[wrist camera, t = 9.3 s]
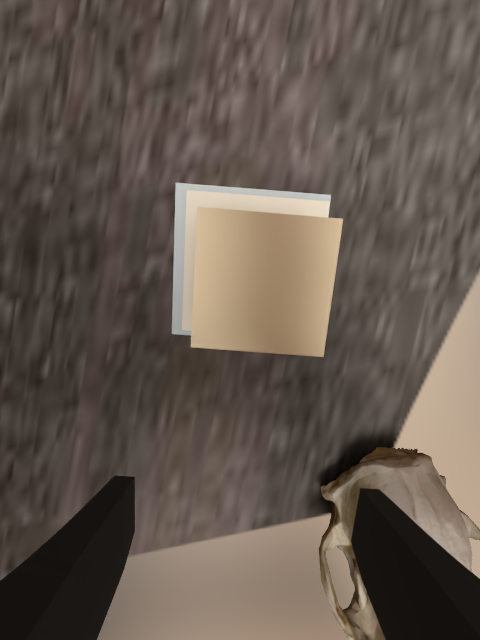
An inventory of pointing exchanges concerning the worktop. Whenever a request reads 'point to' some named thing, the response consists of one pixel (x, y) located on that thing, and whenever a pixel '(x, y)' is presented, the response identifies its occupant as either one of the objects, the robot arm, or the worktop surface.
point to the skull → (411, 497)
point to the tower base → (180, 235)
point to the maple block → (263, 281)
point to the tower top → (233, 203)
